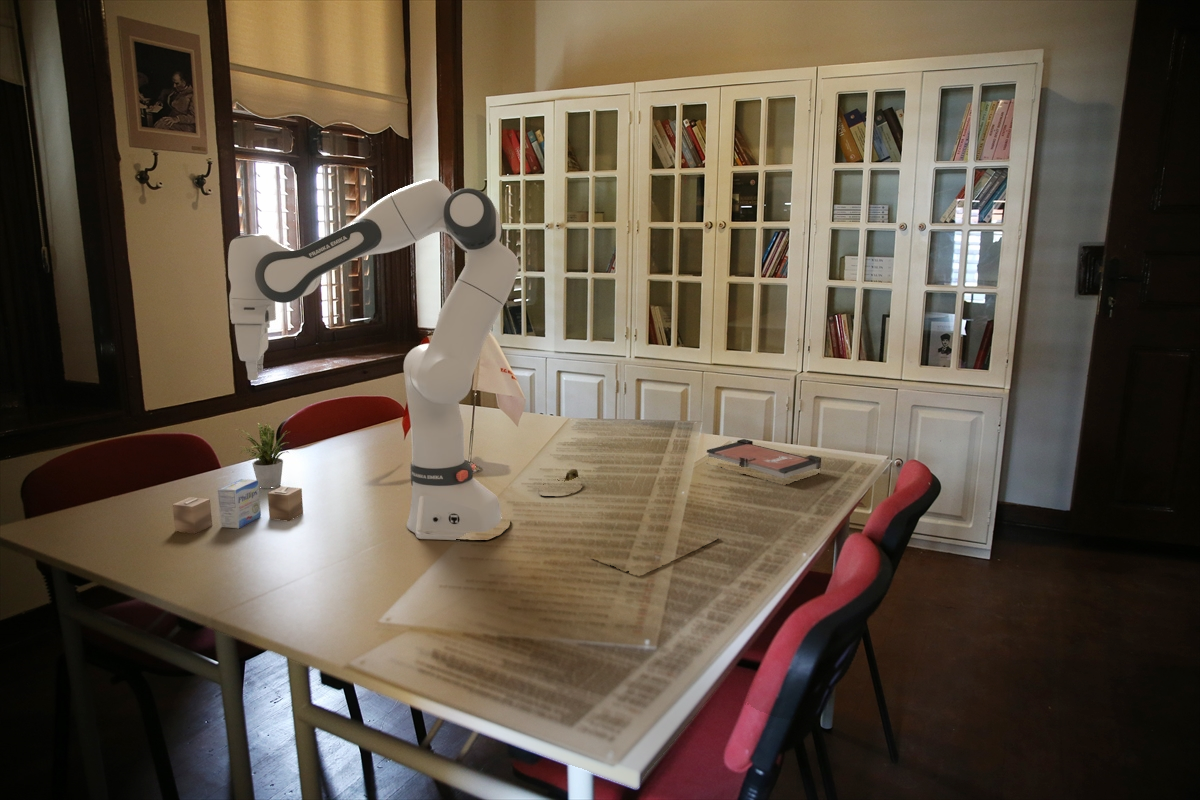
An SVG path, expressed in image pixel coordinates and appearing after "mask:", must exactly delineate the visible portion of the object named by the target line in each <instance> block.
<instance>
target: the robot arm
mask: <svg viewBox="0 0 1200 800" xmlns="http://www.w3.org/2000/svg"><path fill="white" fill-rule="evenodd" d="M503 229H504V228H503V225H502V222H501V217H500V214H499V211H498V210H497V208H496V206H495V205H494V203H493V201H492V200H491V198H490V197H489V196H488V195H487V194H485V193H484V192H482V191H481V190H479V189H475V188H469V187H466V188H460V189H458V190H456V191H454V192H451V191H450V189H449V188H448V187H447V186H446V185H445V184H444V183H442V182H441V181H439V180H438V179H436V178H435V179H434V178H429V179H425V180H422V181H417V182H415V183H412V184H409V185H407V186H404V187H402V188H398V189H397V190H396V191H394V192H391V193H389V194H387V195H386V196H384V197H382V198H380V199H378V200H377V201H376V202H374V203H373V204H371V205H370V206H369V207H367V208H366V209H364V211H362V212H361V213H359V214H358V215H357V216H355V218H354V219H351V221H349V222H348V223H347V224H346V225H344V226H343V227H341V228H340V229H338V230H335V231H334V232H332V233H329V234H328V235H326V236H324V237H322V238H320V239H318V240H315V241H314V242H311V243H309V244H308V245H306V246H303V247H301V248H297V249H293V248H290V247H288V246H285V245H284V244H281V243H280V242H278V241H276V240H275V239H273V238H272V237H271V236H270V235H268V234H266V233H253V234H252V233H250V234H244V235H239V236H236V237H234V238H233V239H232V240H231V241H230V244H229V247H228V253H227V255H228V256H227V257H228V258H227V271H228V272H227V273H228V275H227V276H228V280H229V281H230V292H229V296H228V297H229V298H228V299H229V316H230V317H229V318H230V320H231V321H230V322H231V324H232V325H234V332H235V333H234V334H235V341H236V348H237V354H238V355H237V356H238V357H239V360H240V361H242V362H245V367H246V372H247V380H249V381H256V380H258V377H259V374H260V373H263V371H264V365H263V364H264V356H265V355H264V354H265V353H266V351H267V350H268V349H269V331H268V329H269V328H270V327H271V326H270V322H273V321H275V320H276V319H277V317H276V315H277V313H276V303H281V304H283V303H290V302H291V303H292V302H293V301H295V300H297V299H300V298H303V297H306V296H309V295H311V294H312V293H313V292H315V291H316V290H317V289H318V287H320V285H321V282H322V277H323V276H322V275H325V274H326V273H329V272H330V271H333V270H334V269H337V268H338V267H340V266H342V265H344V264H346V263H348V262H350V261H352V260H355V259H357V258H362V257H366V256H371V255H378V254H380V255H381V254H386V253H391V252H394V251H398V250H400V249H404V248H406V247H408V246H411V245H413V244H414V243H417V242H418V241H421V240H422V239H424V238H426V237H428V236H430V235H432V234H435V233H446V235H447V237H448V238H450V239H451V241H453V242H454V244H455V245H457V246H458V247H459V249H461V250H462V251H463V252H464V253H465V254H467V255H466V256H467V259H466V262H465V266H464V267H463V269H462V271H461V272H460V274H459V276H458V278H457V280H456V282H455V283H454V285H453V286H452V289H451V291H450V293H449V294H448V296H447V298H446V300H445V301H444V303H443V304H442V307H441V308H440V310H439V313H438V319H437V321H436V325H435V328H434V331H433V334H432V337H431V339H430V341H429V342H428V343H423V344H419V345H418V346H414V347H413V348H412V349H410V351H409V352H408V353H407V354H406V356H405V357H404V361H403V373H404V374H403V375H404V385H405V394H406V400H407V409H408V414H409V422H410V432H411V435H410V436H411V456H412V457H411V458H412V459H411V461H410V484H411V485H410V486H411V487H412V490H411V504H410V507H409V508H410V509H409V515H408V517H407V518H408V519H407V522H406V528H407V529H408V530H409V531H410V532H412V533H414V534H415V536H416V538H417V539H420V540H439V541H441V540H443V541H444V540H447V541H457V540H456V539H458V538H460V537H462V536H464V534H466V533H470V532H471V533H472V532H487V531H489V530H491V529H493V528H494V527H496V526H497V525H498V524H499V523H500V521H501V519H502V517H501V514H502V510H501V506H500V501H499V498H498V496H497V495H496V494H495V493H493V492H492V491H491V490H489V489H488V488H487V487H486V486H484V485H483V484H482V483H480V481H478V480H477V479H476V478H475V477H474V475H473V474H474V472H473V471H475V469H476V463H473V464H472V465H470V464H469V463H468V462H467V460H466V459H465V426H464V425H465V424H464V422H463V418H462V413H461V408H460V402H461V401H462V400H464V399H465V398H466V397H467V396H468V394H469V393H470V390H472V384H473V377H474V373H475V370H476V368H477V365H478V362H479V360H480V357H481V353H482V351H483V347H484V345H485V341H486V340H487V338H488V335H489V333H490V331H491V330H492V328H493V326H494V324H495V322H496V321H497V318H498V317H499V315H500V313H501V311H502V309H503V307H504V306H505V304H506V302H507V300H508V298H509V296H510V293H511V291H512V289H513V287H514V284H515V282H516V279H517V275H518V272H519V269H520V265H519V264H520V263H519V260H518V258H517V256H516V254H515V253H514V252H513V251H512V249H510V248H509V247H507V246H505V244H502V239H503V232H504V230H503Z"/></svg>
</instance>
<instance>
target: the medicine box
mask: <svg viewBox="0 0 1200 800" xmlns="http://www.w3.org/2000/svg"><path fill="white" fill-rule="evenodd" d="M217 497H218V507H219V519H220V526H221V528H226V529H238V530H239V528H240V529H241V528H243V527H245V526H247V525H248V523H249V524H250V523H252V522H254V521H255V519H256V520H258V519H259V518H261V517H262V515H261V513H262V512H261V501H260V500H261V499H260V488H259V485H258V481H257V480H256V479H249V478H248V479H247V478H244V479H239V480H236V481H235V482H232V483H230V484H228V485H226V486H223V487H222V488H219V489H218V490H217ZM253 520H254V521H253ZM246 524H247V525H246ZM244 525H245V526H244Z"/></svg>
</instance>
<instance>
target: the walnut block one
mask: <svg viewBox="0 0 1200 800" xmlns="http://www.w3.org/2000/svg"><path fill="white" fill-rule="evenodd" d="M172 514H173V523H174V531H175V532H177V531H179V532H178V533H185V532H187V534H193V533H194V534H195V533H196V534H198V533H200V532H202V531H204V530H206V529H209V528H210V527H212V526H213V520H212V519H213V518H212V517H213V516H212V507H211V499H210V498H203V497H193V496H189V497H187V498H184V499H182V500H180V501H177V502H175V503H172ZM196 534H195V535H196Z"/></svg>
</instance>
